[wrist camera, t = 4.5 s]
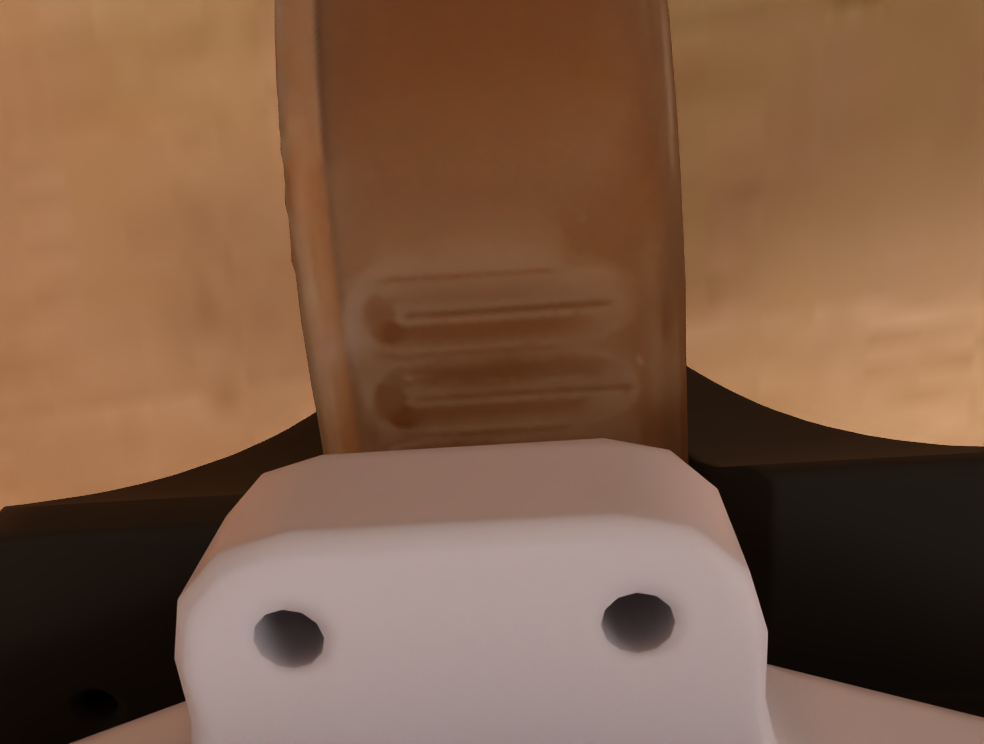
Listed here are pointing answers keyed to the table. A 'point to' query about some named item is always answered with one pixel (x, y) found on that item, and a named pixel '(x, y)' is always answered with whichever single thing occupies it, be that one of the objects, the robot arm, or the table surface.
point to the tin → (485, 220)
